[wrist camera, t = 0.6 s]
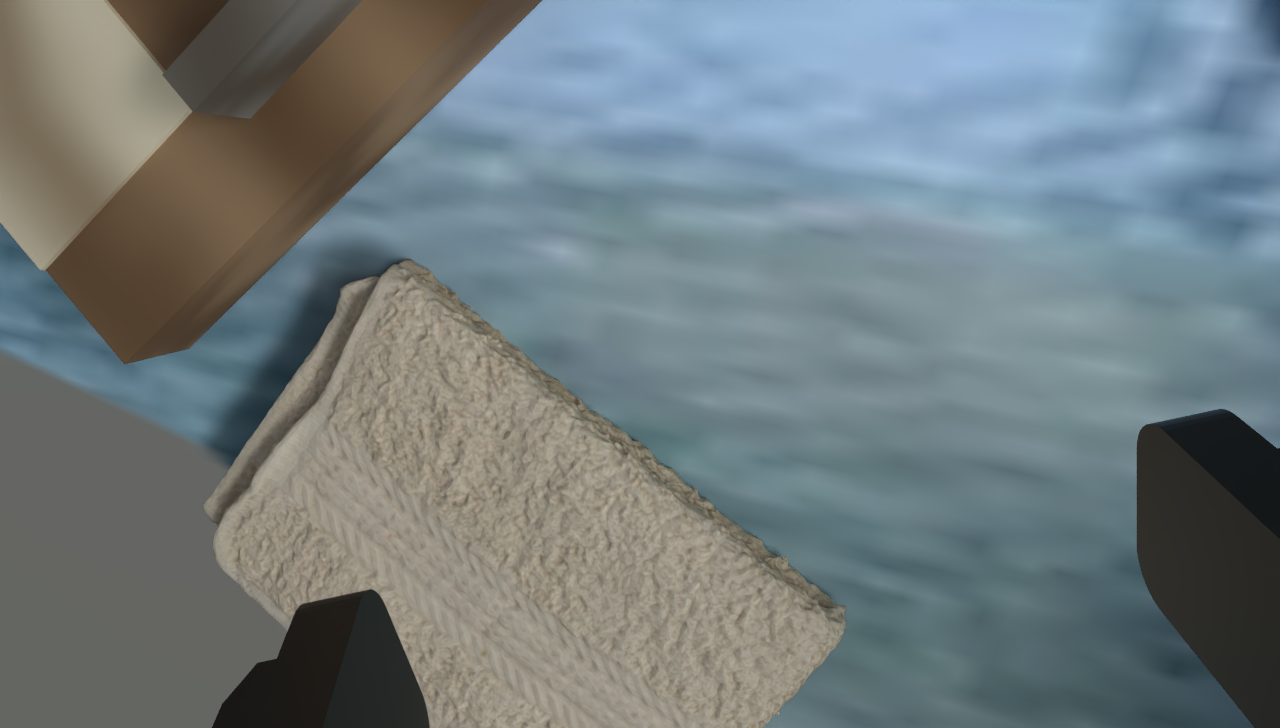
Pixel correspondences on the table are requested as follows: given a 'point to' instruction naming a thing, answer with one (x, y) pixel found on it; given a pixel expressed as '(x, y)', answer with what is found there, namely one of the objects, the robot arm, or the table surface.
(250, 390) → the table surface
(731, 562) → the washcloth
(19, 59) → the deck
